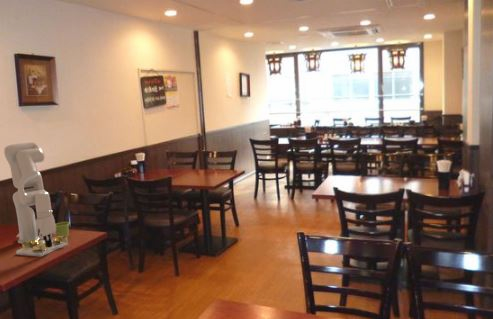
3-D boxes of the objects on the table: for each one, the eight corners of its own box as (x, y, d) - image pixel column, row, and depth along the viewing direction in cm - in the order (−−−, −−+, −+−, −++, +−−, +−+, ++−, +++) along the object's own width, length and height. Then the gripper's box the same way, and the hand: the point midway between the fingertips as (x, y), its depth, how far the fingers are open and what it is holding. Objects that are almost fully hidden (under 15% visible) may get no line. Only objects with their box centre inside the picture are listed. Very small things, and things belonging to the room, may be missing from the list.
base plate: (16, 254, 245) (15, 246, 244) (44, 242, 263) (43, 235, 262) (41, 256, 238) (40, 249, 237) (67, 244, 256) (67, 237, 256)
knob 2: (51, 242, 254) (50, 236, 253) (56, 239, 258) (56, 234, 258) (64, 243, 250) (63, 237, 250) (69, 240, 254) (69, 235, 254)
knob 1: (33, 251, 239) (32, 245, 239) (33, 249, 243) (32, 243, 243) (52, 248, 243) (51, 242, 243) (52, 245, 247) (51, 240, 247)
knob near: (34, 242, 255) (33, 237, 255) (40, 243, 254) (39, 237, 253) (20, 248, 246) (19, 242, 246) (26, 249, 245) (25, 243, 244)
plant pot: (65, 240, 265) (63, 226, 264) (51, 240, 267) (49, 226, 266) (74, 235, 274) (72, 221, 273) (61, 235, 276) (59, 221, 275)
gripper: (50, 210, 248) (54, 242, 250) (28, 218, 234) (32, 250, 236) (60, 211, 245) (64, 242, 247) (38, 218, 231) (43, 251, 234)
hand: (49, 246), depth 242 cm, fingers closed
